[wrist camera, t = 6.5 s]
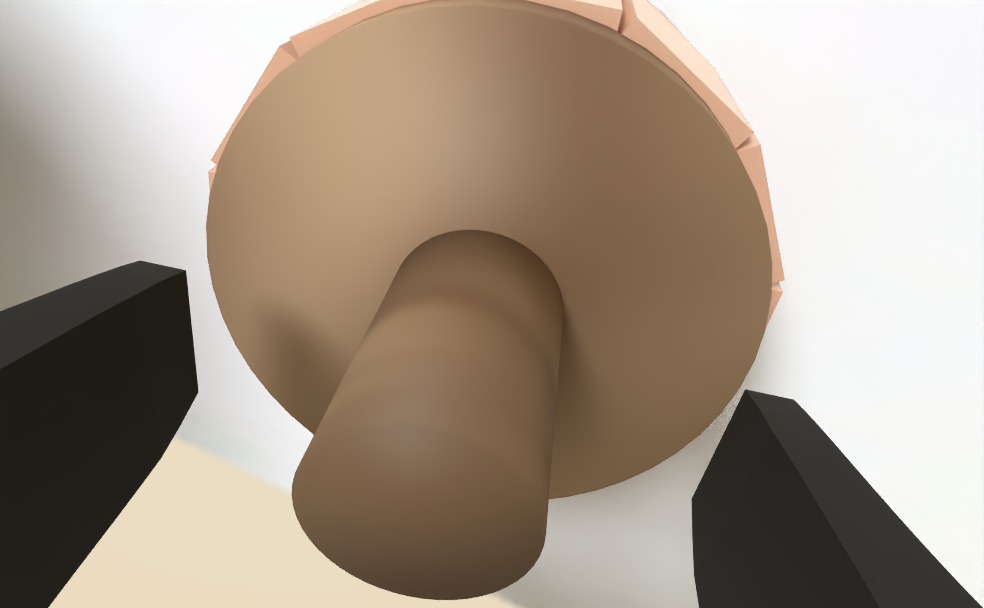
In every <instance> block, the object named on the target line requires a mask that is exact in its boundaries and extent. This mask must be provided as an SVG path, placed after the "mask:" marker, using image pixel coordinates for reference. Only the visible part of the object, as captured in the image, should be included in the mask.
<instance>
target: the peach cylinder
mask: <svg viewBox="0 0 984 608" xmlns="http://www.w3.org/2000/svg"><path fill="white" fill-rule="evenodd" d="M425 1H430V0H361V1H359V2H357V3H355V4H353V5H351V6H349V7H347V8H345V9H343V10H341V11H339V12H338V13H336V14H334V15H332V16H330V17H328V18H326V19H324V20H322V21H320V22H318V23H316V24H314V25H312V26H311V27H309V28H307V29H305V30H303V31H301V32H299V33H297V34H295V35H293V36H291V37H290V39H291V40H290V41H288V42H286V43H284V44H283V45H281V46H279V48H278V49H277V51H276V53H275V54H274V56H273V58H272V59H271V61H270V63H269V64H268V66H267V68H266V69H265V71H264V73H263V74H262V76H261V78H260V79H259V81H258V83H257V84H256V86H255V88H254V89H253V91H252V93H251V94H250V96H249V98H248V99H247V101H246V103H245V104H244V106H243V108H242V109H241V111H240V113H239V114H238V116H237V118H236V119H235V121H234V123H233V124H232V126H231V128H230V129H229V131H228V133H227V134H226V136H225V138H224V139H223V141H222V143H221V144H220V146H219V148H218V149H217V151H216V153H215V154H214V156H213V158H212V159H211V161H213V162H214V163H215V164H217V165H218V162H219V159H220V157H221V155H222V153H223V151H224V148H225V146H226V144H227V142H228V140H229V137H230V135H231V133H232V131H233V129H234V128H235V126H236V125H237V123H238V122H239V120H240V119H241V117H242V116H243V114H244V113H245V111H246V110H247V108H248V107H249V105H250V104H251V102H252V101H253V100H254V99H255V98H256V97H257V96H258V95H259V94H260V92H261V91H262V90H263V89H264V88H265V87H266V86H267V85H268V84H269V83H270V82H271V81H272V80H273V79H274V78H275V77H276V75H277V74H279V73H280V72H281V71H282V70H284V69H285V68H286V67H288V66H289V65H290V64H292V63H293V62H294V61H296V60H297V59H298V58H299V57H301V56H302V55H303V54H305V53H306V52H307V51H309V50H310V49H312V48H314V47H315V46H317V45H319V44H320V43H322V42H324V41H325V40H327V39H329V38H330V37H332V36H334V35H336V34H338V33H340V32H341V31H343V30H345V29H347V28H349V27H351V26H353V25H354V24H356V23H358V22H360V21H362V20H364V19H366V18H369V17H372V16H375V15H378V14H380V13H383V12H386V11H389V10H392V9H394V8H397V7H400V6H404V5H409V4H414V3H420V2H425ZM527 1H531V2H535V3H539V4H544V5H548V6H552V7H556V8H560V9H564V10H568V11H571V12H573V13H576V14H578V15H581V16H583V17H586V18H588V19H591V20H593V21H596V22H598V23H601V24H603V25H606V26H608V27H610V28H612V29H614V30H615V31H617V32H619V33H621V34H622V35H624V36H626V37H628V38H629V39H631V40H633V41H634V42H636V43H638V44H640V45H641V46H643V47H645V48H646V49H648V50H649V51H650V52H652V53H653V54H654V55H655V56H657V57H658V58H659V59H660V60H662V61H663V62H664V63H665V64H667V65H668V66H669V67H671V68H672V69H673V70H674V71H676V72H677V73H678V74H679V75H680V76H681V77H682V78H683V79H684V80H685V81H686V82H687V83H688V84H689V85H690V86H691V87H692V89H693V90H694V91H695V92H696V93H697V94H698V95H699V96H700V97H701V98H702V99H703V100H704V101H705V102H706V103H707V105H708V106H709V108H710V109H711V111H712V112H713V113H714V115H715V116H716V118H717V119H718V121H719V122H720V124H721V125H722V126H723V128H724V129H725V131H726V132H727V134H728V135H729V137H730V139H731V141H732V143H733V145H734V147H735V149H736V151H737V153H738V155H739V157H740V159H741V161H742V163H743V165H744V167H745V169H746V171H747V173H748V175H749V177H750V179H751V181H752V183H753V185H754V187H755V189H756V192H757V195H758V198H759V201H760V205H761V208H762V211H763V215H764V218H765V221H766V224H767V228H768V235H769V242H770V250H771V257H772V294H771V302H770V308H769V313H768V318H767V324H768V322H769V320H770V318H771V316H772V314H773V312H774V309H775V307H776V305H777V303H778V301H779V299H780V297H781V295H782V293H783V291H782V289H781V287H780V284H779V281H784V274H783V269H782V263H781V257H780V252H779V246H778V240H777V235H776V229H775V224H774V218H773V212H772V207H771V201H770V195H769V190H768V184H767V178H766V173H765V167H764V162H763V156H762V150H761V145H760V143H759V141H758V140H757V138H756V137H755V135H754V132H753V130H752V128H751V127H750V125H749V123H748V122H747V120H746V119H745V117H744V115H743V114H742V112H741V110H740V109H739V107H738V105H737V104H736V102H735V101H734V99H733V97H732V96H731V94H730V92H729V91H728V89H727V87H726V86H725V84H724V83H723V81H722V79H721V78H720V76H719V74H718V73H717V71H716V70H715V68H714V67H713V66H712V65H711V64H710V63H709V62H708V61H707V60H706V59H705V58H704V57H703V56H702V55H701V54H700V53H699V52H698V51H697V50H696V49H695V48H694V47H693V46H692V45H691V44H690V43H689V42H688V40H687V39H686V38H685V37H684V36H683V35H682V33H681V32H680V31H679V30H678V29H677V28H676V26H675V25H674V24H673V23H672V22H671V21H670V19H669V18H668V17H667V16H665V15H664V14H663V13H662V12H661V11H660V10H658V9H657V8H656V7H655V6H654V5H653V4H651V3H650V2H649V1H648V0H527ZM217 165H216V166H215V167H214V168H212V169H211V170H210V171H208V172H209V185H210V191H211V187H212V184H213V180H214V176H215V173H216V169H217ZM767 324H766V326H767Z"/></svg>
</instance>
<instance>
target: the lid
mask: <svg viewBox="0 0 984 608" xmlns="http://www.w3.org/2000/svg"><path fill="white" fill-rule="evenodd" d="M206 233H207V257H208V263H209V268H210V274H211V279H212V285H213V289H214V292H215V295H216V298H217V301H218V305H219V308H220V311H221V314H222V317H223V319H224V321H225V323H226V325H227V328H228V330H229V332H230V334H231V336H232V338H233V340H234V342H235V345H236V346H237V348H238V349H239V351H240V353H241V354H242V356H243V357H244V359H245V361H246V362H247V364H248V365H249V367H250V369H251V370H252V371H253V373H254V374H255V375H256V377H257V378H258V379H259V380H260V382H261V383H262V384H263V385H264V387H265V388H266V389H267V391H268V392H269V393H270V394H271V395H272V396H273V397H274V398H275V399H276V400H277V401H278V402H279V403H280V405H281V406H282V407H283V408H284V409H285V410H286V411H287V412H288V413H289V414H290V415H291V416H292V417H294V418H295V419H296V420H297V421H298V422H300V423H301V424H302V425H303V426H304V427H305V428H307V429H308V430H309V431H310V432H311V433H313V434H314V436H313V438H312V440H311V442H310V444H309V446H308V448H307V450H306V452H305V454H304V456H303V458H302V460H301V462H300V464H299V466H298V468H297V470H296V472H295V476H294V479H293V483H292V500H293V507H294V510H295V513H296V516H297V519H298V521H299V523H300V525H301V527H302V529H303V530H304V532H305V533H306V535H307V536H308V538H309V539H310V540H311V542H312V543H313V544H314V545H315V546H316V547H317V548H318V550H320V551H321V552H322V553H323V554H324V555H325V556H326V557H327V558H328V559H330V560H331V561H332V562H333V563H335V564H336V565H337V566H339V567H340V568H342V569H343V570H345V571H346V572H348V573H349V574H351V575H353V576H355V577H357V578H359V579H361V580H362V581H364V582H367V583H369V584H371V585H374V586H376V587H379V588H381V589H385V590H388V591H391V592H394V593H398V594H402V595H406V596H411V597H417V598H423V599H434V600H457V599H468V598H473V597H479V596H483V595H487V594H490V593H494V592H496V591H499V590H501V589H503V588H506V587H508V586H509V585H511V584H513V583H514V582H516V581H518V580H519V579H520V578H521V577H523V576H524V575H525V574H526V573H527V572H528V571H529V570H530V569H531V568H532V567H533V566H534V564H535V563H536V561H537V560H538V558H539V556H540V554H541V552H542V549H543V546H544V542H545V536H546V525H547V512H548V500H549V499H554V498H562V497H569V496H573V495H577V494H582V493H586V492H591V491H595V490H598V489H601V488H604V487H607V486H610V485H613V484H616V483H619V482H622V481H625V480H627V479H629V478H631V477H633V476H636V475H638V474H640V473H642V472H644V471H646V470H649V469H651V468H652V467H654V466H656V465H657V464H659V463H661V462H662V461H664V460H666V459H667V458H669V457H671V456H672V455H674V454H675V453H677V452H678V451H680V450H681V449H682V448H683V447H685V446H686V445H687V444H688V443H690V442H691V441H692V440H693V439H695V438H696V437H697V436H699V435H700V434H701V433H702V432H703V431H704V430H705V429H706V428H707V427H708V426H709V425H710V424H711V423H712V422H713V421H714V420H715V419H716V418H717V416H718V415H719V414H720V413H721V412H722V411H723V410H724V408H725V407H726V406H727V404H728V403H729V402H730V400H731V399H732V398H733V396H734V395H735V393H736V392H737V391H738V389H739V388H740V386H741V384H742V383H743V381H744V379H745V377H746V375H747V373H748V371H749V370H750V368H751V366H752V364H753V362H754V360H755V357H756V355H757V352H758V349H759V346H760V343H761V341H762V338H763V335H764V332H765V329H766V324H767V318H768V313H769V308H770V302H771V294H772V257H771V250H770V242H769V235H768V228H767V224H766V221H765V218H764V215H763V211H762V208H761V205H760V201H759V198H758V195H757V192H756V189H755V187H754V185H753V183H752V181H751V179H750V177H749V175H748V173H747V171H746V169H745V167H744V165H743V163H742V161H741V159H740V157H739V155H738V153H737V151H736V149H735V147H734V145H733V143H732V141H731V139H730V137H729V135H728V134H727V132H726V131H725V129H724V128H723V126H722V125H721V124H720V122H719V121H718V119H717V118H716V116H715V115H714V113H713V112H712V111H711V109H710V108H709V106H708V105H707V103H706V102H705V101H704V100H703V99H702V98H701V97H700V96H699V95H698V94H697V93H696V92H695V91H694V90H693V89H692V87H691V86H690V85H689V84H688V83H687V82H686V81H685V80H684V79H683V78H682V77H681V76H680V75H679V74H678V73H677V72H676V71H674V70H673V69H672V68H671V67H669V66H668V65H667V64H665V63H664V62H663V61H662V60H660V59H659V58H658V57H657V56H655V55H654V54H653V53H652V52H650V51H649V50H648V49H646V48H645V47H643V46H641V45H640V44H638V43H636V42H634V41H633V40H631V39H629V38H628V37H626V36H624V35H622V34H621V33H619V32H617V31H615V30H614V29H612V28H610V27H608V26H606V25H603V24H601V23H598V22H596V21H593V20H591V19H588V18H586V17H583V16H581V15H578V14H576V13H573V12H571V11H568V10H564V9H560V8H556V7H552V6H548V5H544V4H539V3H535V2H531V1H527V0H430V1H425V2H420V3H414V4H409V5H404V6H400V7H397V8H394V9H392V10H389V11H386V12H383V13H380V14H378V15H375V16H372V17H369V18H366V19H364V20H362V21H360V22H358V23H356V24H354V25H353V26H351V27H349V28H347V29H345V30H343V31H341V32H340V33H338V34H336V35H334V36H332V37H330V38H329V39H327V40H325V41H324V42H322V43H320V44H319V45H317V46H315V47H314V48H312V49H310V50H309V51H307V52H306V53H305V54H303V55H302V56H301V57H299V58H298V59H297V60H296V61H294V62H293V63H292V64H290V65H289V66H288V67H286V68H285V69H284V70H282V71H281V72H280V73H279V74H277V75H276V77H275V78H274V79H273V80H272V81H271V82H270V83H269V84H268V85H267V86H266V87H265V88H264V89H263V90H262V91H261V92H260V94H259V95H258V96H257V97H256V98H255V99H254V100H253V101H252V102H251V104H250V105H249V107H248V108H247V110H246V111H245V113H244V114H243V116H242V117H241V119H240V120H239V122H238V123H237V125H236V126H235V128H234V129H233V131H232V133H231V135H230V137H229V140H228V142H227V144H226V146H225V148H224V151H223V153H222V155H221V157H220V159H219V162H218V165H217V169H216V173H215V176H214V180H213V184H212V187H211V191H210V196H209V205H208V214H207V223H206Z"/></svg>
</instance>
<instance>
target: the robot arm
mask: <svg viewBox="0 0 984 608" xmlns="http://www.w3.org/2000/svg"><path fill="white" fill-rule="evenodd" d="M197 394H198V383H197V374H196V364H195V354H194V345H193V335H192V325H191V315H190V306H189V296H188V286H187V276H186V270H181V269H177V268H172V267H167V266H163V265H158V264H153V263H148V262H144V261H137V262H134V263H130V264H127V265H124V266H120V267H117V268H114V269H111V270H109V271H106V272H103V273H100V274H97V275H95V276H92V277H89V278H87V279H84V280H81V281H78V282H76V283H73V284H71V285H68V286H65V287H63V288H60V289H58V290H55V291H52V292H50V293H47V294H45V295H42V296H39V297H37V298H34V299H32V300H29V301H26V302H24V303H21V304H19V305H16V306H13V307H11V308H8V309H6V310H3V311H0V608H48V607H49V606H50V604H51V603H52V602H53V601H54V599H55V598H56V597H57V595H58V594H59V592H60V591H61V590H62V589H63V587H64V586H65V584H66V583H67V582H68V581H69V580H70V578H71V577H72V575H73V574H74V573H75V572H76V570H77V569H78V567H79V566H80V565H81V564H82V562H83V561H84V560H85V559H86V557H87V556H88V555H89V553H90V552H91V551H92V549H93V548H94V547H95V545H96V544H97V543H98V541H99V540H100V539H101V538H102V536H103V535H104V534H105V532H106V531H107V530H108V528H109V527H110V526H111V524H112V523H113V522H114V521H115V519H116V518H117V517H118V515H119V514H120V513H121V511H122V510H123V509H124V507H125V506H126V505H127V503H128V502H129V501H130V499H131V498H132V497H133V495H134V494H135V493H136V491H137V490H138V489H139V487H140V486H141V485H142V483H143V482H144V480H145V479H146V478H147V476H148V475H149V474H150V472H151V471H152V469H153V468H154V467H155V466H156V464H157V463H158V462H159V460H160V459H161V457H162V456H163V454H164V452H165V451H166V449H167V447H168V446H169V444H170V442H171V440H172V439H173V437H174V435H175V434H176V432H177V430H178V429H179V427H180V425H181V423H182V421H183V419H184V418H185V416H186V414H187V412H188V410H189V408H190V407H191V405H192V403H193V401H194V399H195V397H196V395H197ZM692 536H693V560H694V576H695V583H696V590H697V597H698V603H699V608H983V607H982V606H981V605H980V604H979V603H978V602H977V601H976V600H975V599H974V598H973V597H972V596H971V595H970V594H969V593H968V592H967V591H966V590H965V589H964V588H963V587H962V586H961V585H960V584H959V583H958V582H957V580H956V579H955V578H954V577H953V576H952V575H951V574H950V573H949V572H948V571H947V570H946V569H945V568H944V567H943V565H942V564H941V563H940V562H939V561H938V560H937V559H936V558H935V557H934V556H933V555H932V554H931V553H930V551H929V550H928V549H927V548H926V547H925V546H924V545H923V544H922V543H921V542H920V540H919V539H918V538H917V537H916V536H915V535H914V534H913V533H912V532H911V530H910V529H909V528H908V527H907V526H906V525H905V524H904V523H903V522H902V520H901V519H900V518H899V517H898V516H897V515H896V514H895V513H894V511H893V510H892V509H891V508H890V507H889V506H888V505H887V503H886V502H885V501H884V500H883V499H882V498H881V497H880V496H879V494H878V493H877V492H876V491H875V490H874V489H873V488H872V486H871V485H870V484H869V483H868V482H867V481H866V480H865V478H864V477H863V476H862V475H861V474H860V473H859V471H858V470H857V469H856V468H855V467H854V466H853V465H852V463H851V462H850V461H849V460H848V459H847V458H846V457H845V455H844V454H843V453H842V452H841V451H840V450H839V448H838V447H837V446H836V445H835V444H834V443H833V442H832V440H831V439H830V438H829V437H828V436H827V435H826V434H825V433H824V431H823V430H822V429H821V428H820V427H819V426H818V425H817V424H816V422H815V421H814V420H813V419H812V418H811V417H810V416H809V415H808V414H807V413H806V412H805V411H804V410H803V409H802V408H801V407H800V405H799V404H798V403H797V402H796V401H795V400H793V399H788V398H783V397H778V396H774V395H769V394H764V393H760V392H755V391H750V390H746V389H745V391H744V393H743V395H742V397H741V399H740V401H739V403H738V406H737V408H736V410H735V412H734V414H733V416H732V418H731V420H730V422H729V424H728V426H727V428H726V430H725V432H724V434H723V436H722V438H721V440H720V442H719V444H718V446H717V448H716V450H715V453H714V455H713V457H712V459H711V461H710V463H709V465H708V467H707V469H706V471H705V473H704V475H703V477H702V479H701V481H700V483H699V485H698V487H697V489H696V491H695V493H694V495H693V498H692Z"/></svg>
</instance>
